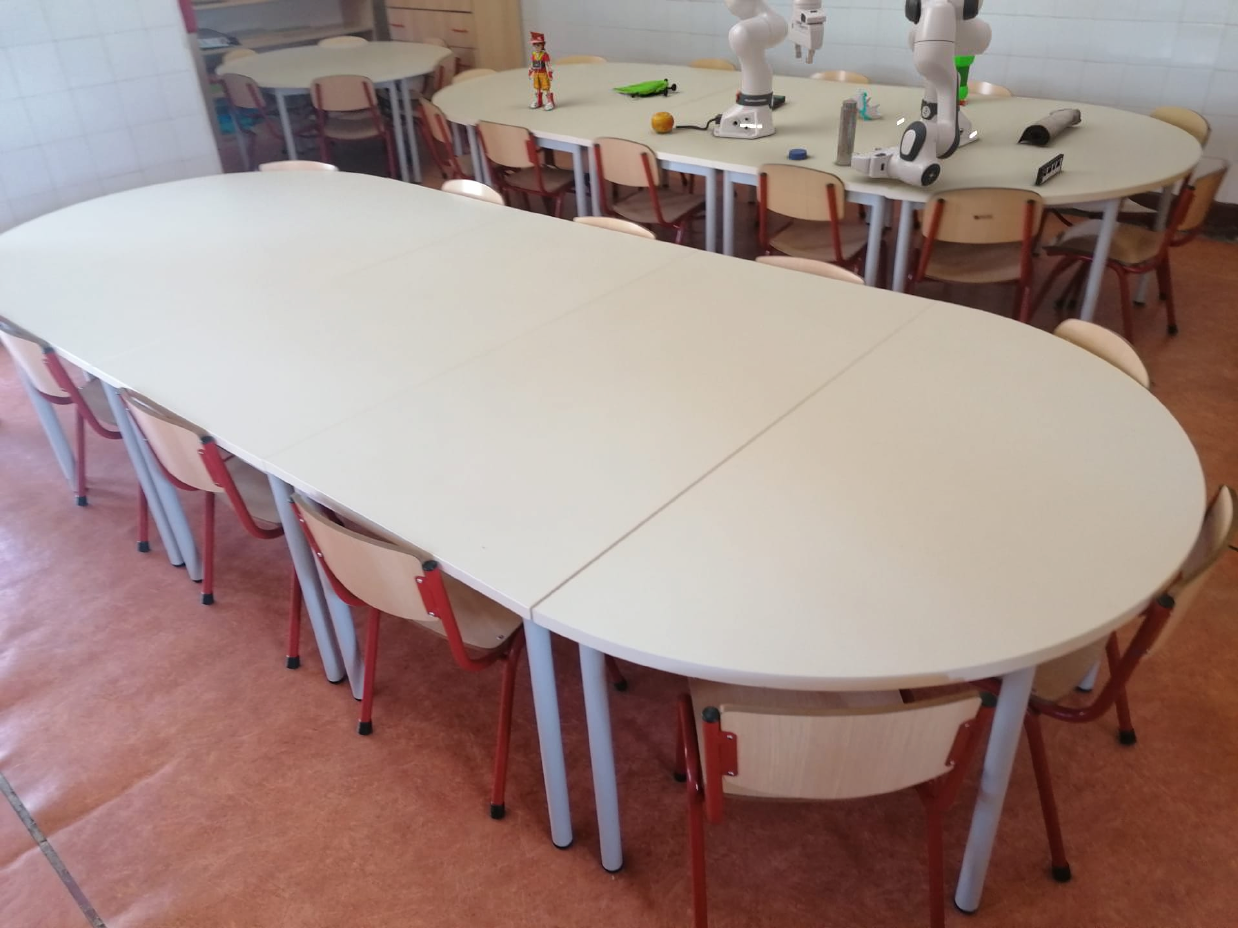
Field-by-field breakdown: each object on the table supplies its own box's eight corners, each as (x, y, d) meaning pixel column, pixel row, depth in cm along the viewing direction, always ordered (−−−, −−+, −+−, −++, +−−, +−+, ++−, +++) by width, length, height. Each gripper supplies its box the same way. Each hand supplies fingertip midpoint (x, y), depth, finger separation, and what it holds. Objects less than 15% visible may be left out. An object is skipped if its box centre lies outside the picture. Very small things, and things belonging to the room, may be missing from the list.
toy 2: (686, 85, 398) (631, 84, 414) (685, 72, 395) (629, 72, 411) (651, 104, 381) (596, 103, 397) (650, 92, 378) (594, 91, 394)
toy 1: (525, 109, 381) (517, 32, 364) (534, 104, 388) (527, 28, 371) (550, 110, 377) (543, 32, 360) (559, 105, 384) (553, 28, 367)
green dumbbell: (973, 101, 354) (984, 32, 339) (955, 106, 349) (966, 36, 335) (952, 97, 361) (962, 29, 346) (934, 102, 356) (944, 33, 342)
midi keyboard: (1039, 185, 269) (1043, 168, 266) (1035, 184, 270) (1038, 168, 267) (1060, 170, 279) (1064, 154, 277) (1056, 169, 280) (1060, 153, 277)
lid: (799, 161, 302) (799, 155, 301) (785, 158, 306) (785, 151, 305) (810, 156, 305) (810, 150, 304) (796, 153, 309) (796, 147, 308)
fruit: (644, 124, 337) (655, 105, 334) (651, 127, 345) (662, 108, 342) (662, 136, 336) (673, 117, 333) (668, 139, 344) (680, 120, 341)
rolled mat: (1047, 113, 322) (1072, 96, 314) (1061, 134, 323) (1087, 117, 314) (1013, 137, 305) (1039, 118, 297) (1028, 159, 305) (1054, 142, 297)
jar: (845, 166, 295) (851, 104, 283) (833, 163, 298) (838, 101, 287) (855, 163, 297) (861, 101, 286) (843, 160, 301) (848, 98, 289)
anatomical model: (845, 88, 346) (871, 81, 345) (848, 116, 352) (873, 109, 351) (857, 98, 334) (883, 90, 333) (859, 126, 340) (885, 119, 339)
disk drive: (770, 111, 358) (785, 102, 368) (771, 104, 356) (785, 95, 366) (747, 109, 362) (762, 100, 372) (747, 102, 361) (762, 93, 371)
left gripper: (785, 9, 288) (782, 56, 296) (808, 18, 272) (805, 67, 280) (803, 8, 289) (800, 54, 297) (828, 17, 273) (824, 65, 280)
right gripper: (922, 146, 279) (891, 137, 289) (870, 158, 272) (841, 148, 282) (919, 167, 283) (889, 157, 293) (868, 179, 275) (839, 168, 286)
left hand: (803, 60), depth 288 cm, fingers open, 8 cm apart
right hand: (865, 152), depth 287 cm, fingers open, 8 cm apart
